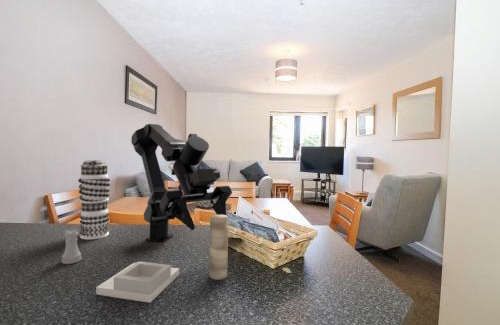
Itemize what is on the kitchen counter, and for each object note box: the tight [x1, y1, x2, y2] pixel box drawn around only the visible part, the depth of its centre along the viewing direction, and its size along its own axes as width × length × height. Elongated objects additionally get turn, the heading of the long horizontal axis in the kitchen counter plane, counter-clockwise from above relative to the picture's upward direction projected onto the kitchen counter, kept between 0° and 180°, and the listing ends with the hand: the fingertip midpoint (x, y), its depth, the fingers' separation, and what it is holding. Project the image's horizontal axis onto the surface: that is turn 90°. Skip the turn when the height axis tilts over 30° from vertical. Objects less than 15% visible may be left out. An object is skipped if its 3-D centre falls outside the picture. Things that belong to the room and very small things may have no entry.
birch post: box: [208, 214, 229, 281], centre depth 64 cm, size 4×4×14 cm
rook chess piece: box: [60, 228, 83, 265], centre depth 70 cm, size 4×4×8 cm
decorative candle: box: [77, 159, 111, 240], centre depth 90 cm, size 9×9×25 cm
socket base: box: [95, 260, 180, 303], centre depth 59 cm, size 12×12×4 cm
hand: (210, 225), depth 66 cm, fingers open, 9 cm apart
